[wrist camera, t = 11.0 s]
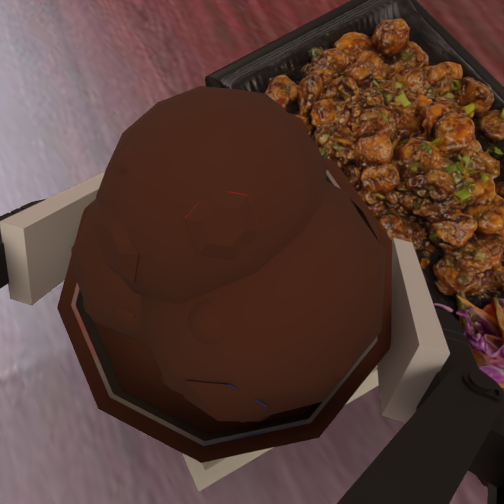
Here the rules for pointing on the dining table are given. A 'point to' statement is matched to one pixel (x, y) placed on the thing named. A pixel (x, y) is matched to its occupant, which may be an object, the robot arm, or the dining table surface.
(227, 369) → the ice cream bowl
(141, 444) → the dining table surface
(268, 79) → the food platter
